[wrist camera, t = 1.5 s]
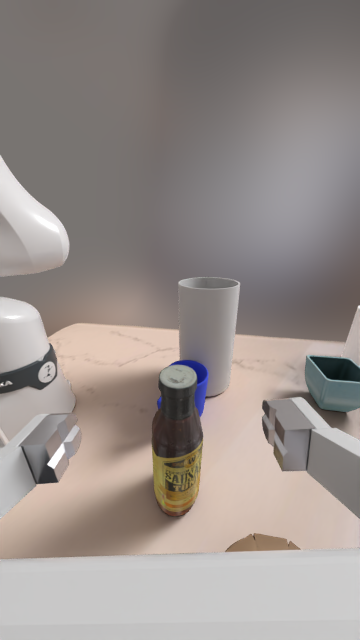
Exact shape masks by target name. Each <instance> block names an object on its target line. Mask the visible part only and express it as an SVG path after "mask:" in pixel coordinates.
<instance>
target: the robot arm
mask: <svg viewBox="0 0 360 640" xmlns="http://www.w3.org/2000/svg"><path fill="white" fill-rule="evenodd" d="M68 252H69V240H68V236H67V233H66V231H65V228H64V227H63V225H62V223H61V222H60V221H59V219H58V218H57V217H56V216H55V215H54V214H53V213H52V212H51V211H50V210H48V209H47V208H46V207H44V206H43V205H41V204H40V203H39V202H37V201H36V200H35V199H34V198H33V197H32V196H31V195H30V194H29V193H28V192H27V191H26V190H25V189H24V188H23V187H22V186H21V185H20V183H19V182H18V181H17V180H16V178H15V177H14V176H13V174H12V173H11V171H10V170H9V168H8V167H7V165H6V164H5V162H4V161H3V159H2V157H1V155H0V277H1V276H12V275H22V274H33V273H38V272H42V271H45V270H49V269H53V268H56V267H59V266H62V265H63V263H64V262H65V260H66V259H67V256H68ZM75 403H76V398H75V395H74V393H73V392H72V391H71V383H70V381H69V380H66V378H65V376H64V374H63V371H62V369H61V367H60V365H59V363H58V361H57V358H56V355H55V350H54V349H53V346H52V345H51V344H50V343H49V342H48V339H47V335H46V332H45V329H44V326H43V323H42V320H41V317H40V314H39V312H38V311H37V310H36V309H35V308H34V307H33V306H32V305H30V304H28V303H25V302H23V301H19V300H15V299H11V298H5V297H0V519H1V518H2V517H3V516H4V515H5V514H6V513H7V512H8V511H9V510H11V509H12V508H13V507H14V506H15V505H16V504H17V503H18V502H19V501H20V500H21V499H22V498H23V497H25V496H26V495H27V494H28V493H29V492H30V491H31V490H32V489H33V488H34V487H35V486H36V484H45V483H57V482H59V481H60V479H61V477H62V475H63V474H64V472H65V470H66V469H67V467H68V465H69V459H70V458H71V457H72V456H73V455H74V454H75V453H76V452H77V450H78V448H79V446H80V442H81V430H80V428H79V427H78V426H76V425H75V424H76V422H77V417H76V414H74V413H71V412H72V410H73V409H74V406H75ZM262 409H263V410H264V412H265V414H264V416H263V417H262V425H263V431H264V434H265V437H266V439H267V441H268V443H269V444H271V445H272V446H273V447H274V455H275V457H276V459H277V461H278V463H279V465H280V467H281V469H282V471H307V473H309V474H310V475H311V476H312V477H313V478H314V479H315V480H316V481H318V482H319V483H320V484H321V485H322V486H323V487H324V488H326V489H327V490H328V491H329V492H330V493H331V494H332V495H333V496H335V497H336V498H337V499H338V500H339V501H340V502H341V503H342V504H344V505H345V506H346V507H347V508H348V509H349V510H350V511H352V512H353V513H354V514H355V515H356V516H357V517H358V518H359V519H360V440H359V439H357V438H355V437H353V436H351V435H349V434H347V433H345V432H343V431H341V430H339V429H337V428H331V427H330V426H329V425H328V424H327V423H326V422H325V421H324V420H323V418H322V417H321V416H320V415H319V414H318V413H317V412H316V411H315V410H314V409H313V408H312V407H311V406H310V405H309V404H308V403H307V401H306V400H305V399H304V398H302V397H294V398H288V399H287V398H286V399H272V400H263V405H262ZM0 640H360V548H338V549H307V550H275V551H243V552H211V553H179V554H148V555H118V556H88V557H57V558H26V559H0Z"/></svg>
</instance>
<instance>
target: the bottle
mask: <svg viewBox="0 0 360 640" xmlns="http://www.w3.org/2000/svg"><path fill="white" fill-rule="evenodd" d="M341 357H343V358H349V359H351V360H352V361H353V362H355V363H356V364H357V365H358V366H359V367H360V306H358V308H357V311H356V315H355V317H354V320H353V323H352V326H351V329H350V332H349V335H348V338H347V341H346V344H345V347H344V350H343V353H342V356H341Z"/></svg>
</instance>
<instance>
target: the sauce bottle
mask: <svg viewBox="0 0 360 640" xmlns="http://www.w3.org/2000/svg"><path fill="white" fill-rule="evenodd" d="M159 389H160V391H161V407H160V409H158V411H157V412H156V414H155V417H154V419H153V424H152V455H153V477H154V491H155V495H156V500H157V503H158V505H159V507H160V508H161V509H162V510H163V511H164V512H165V513H166V514H168V515H170V516H180V515H184V514H185V513H186V512H188V511H189V510H190V509H191V507H192V506H193V504H194V502H195V499H196V498H197V495H198V491H199V481H200V469H201V458H202V446H203V432H202V427H201V422H200V416H199V412H198V409H197V408H196V407H195V401H194V399H195V390H196V389H197V375H196V373H195V371H194V370H193V369H192V368H190V367H187V366H184V365H171V366H169V367H166V368H164V369H163V370H162V371H161V373H160V375H159Z"/></svg>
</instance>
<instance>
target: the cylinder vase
mask: <svg viewBox="0 0 360 640" xmlns="http://www.w3.org/2000/svg"><path fill="white" fill-rule="evenodd" d="M178 288H179V345H180V360H193V361H197V362H199V363H201V364H203V365H204V366H205V367H206V368H207V370H208V373H209V376H208V383H207V390H206V396H215V395H218V394H220V393H222V392H224V391H225V390H226V389H227V388H228V386H229V383H230V374H231V365H232V356H233V346H234V337H235V327H236V317H237V309H238V298H239V289H240V283H239V282H238V281H235V280H231V279H225V278H213V277H205V278H204V277H202V278H190V279H184V280H181V281H179V282H178Z"/></svg>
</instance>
